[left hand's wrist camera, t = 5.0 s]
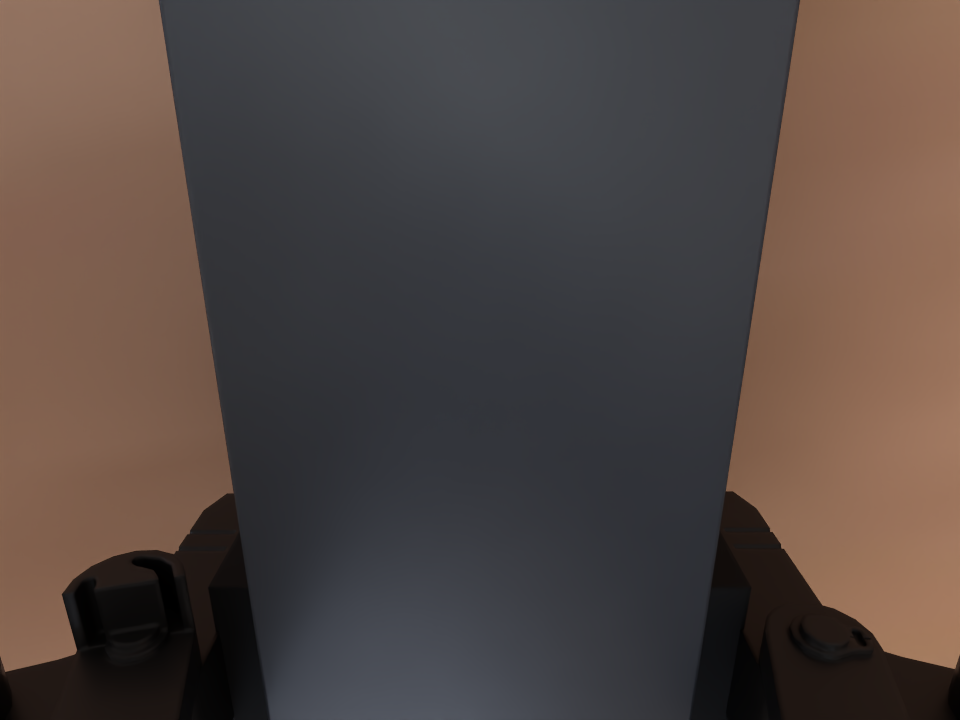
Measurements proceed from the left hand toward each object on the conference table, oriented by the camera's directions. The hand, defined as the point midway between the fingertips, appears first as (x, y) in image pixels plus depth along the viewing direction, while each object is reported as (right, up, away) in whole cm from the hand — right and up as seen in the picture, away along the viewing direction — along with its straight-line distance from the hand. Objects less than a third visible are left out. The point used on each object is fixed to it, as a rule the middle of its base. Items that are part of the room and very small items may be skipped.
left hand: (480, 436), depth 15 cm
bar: (0, +21, -7) cm, 22 cm away
